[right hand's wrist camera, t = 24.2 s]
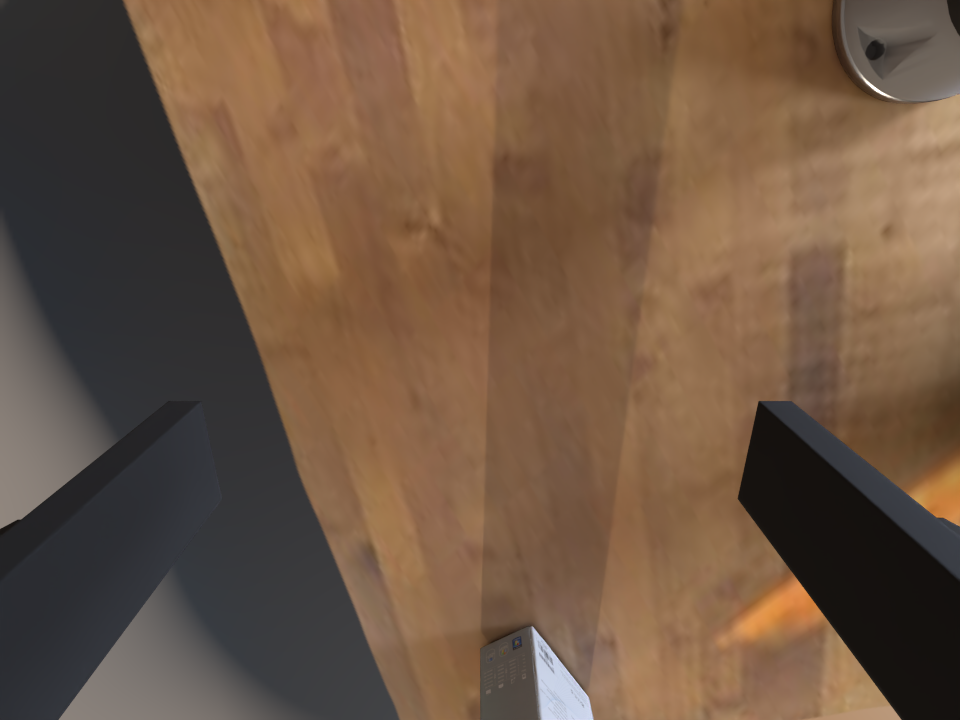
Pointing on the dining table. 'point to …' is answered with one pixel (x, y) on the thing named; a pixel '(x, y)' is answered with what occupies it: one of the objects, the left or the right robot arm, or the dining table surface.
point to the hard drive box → (528, 682)
